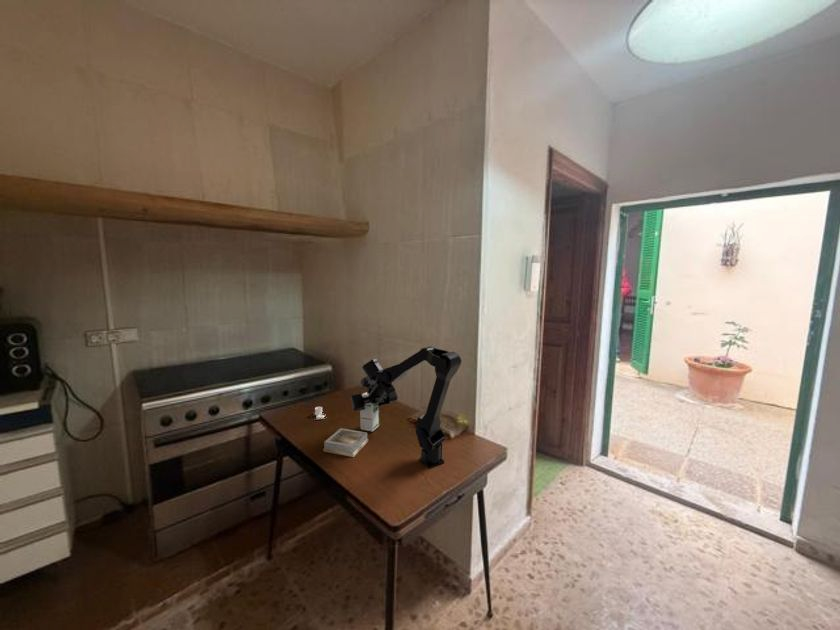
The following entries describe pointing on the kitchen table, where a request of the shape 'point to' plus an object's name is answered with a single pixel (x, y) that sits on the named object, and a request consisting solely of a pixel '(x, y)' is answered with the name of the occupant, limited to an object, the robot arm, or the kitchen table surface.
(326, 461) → the kitchen table surface
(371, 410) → the syrup box
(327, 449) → the white square tray
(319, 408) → the white ring and cylinder
